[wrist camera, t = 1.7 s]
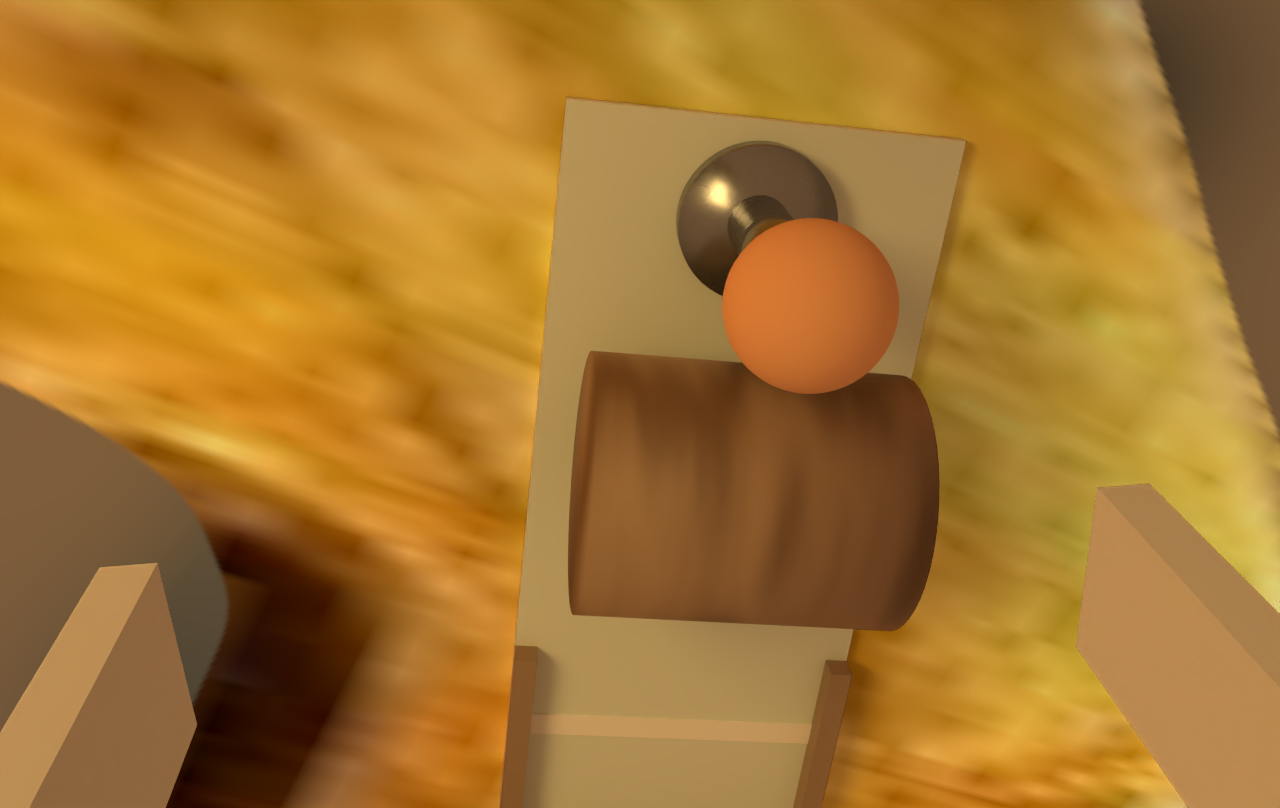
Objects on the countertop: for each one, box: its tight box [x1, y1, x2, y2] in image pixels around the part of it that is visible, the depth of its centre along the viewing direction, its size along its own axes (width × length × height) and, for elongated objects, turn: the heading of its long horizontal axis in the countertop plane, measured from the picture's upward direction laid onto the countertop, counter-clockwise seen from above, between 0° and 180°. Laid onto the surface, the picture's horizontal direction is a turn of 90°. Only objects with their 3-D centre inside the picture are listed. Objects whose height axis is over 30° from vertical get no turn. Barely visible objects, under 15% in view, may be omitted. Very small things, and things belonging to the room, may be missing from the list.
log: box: [568, 351, 939, 631], centre depth 42 cm, size 11×9×9 cm
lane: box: [499, 97, 966, 808], centre depth 46 cm, size 14×35×5 cm, turn 173°
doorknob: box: [676, 141, 838, 296], centre depth 39 cm, size 6×6×6 cm
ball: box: [722, 218, 899, 394], centre depth 34 cm, size 5×5×5 cm
